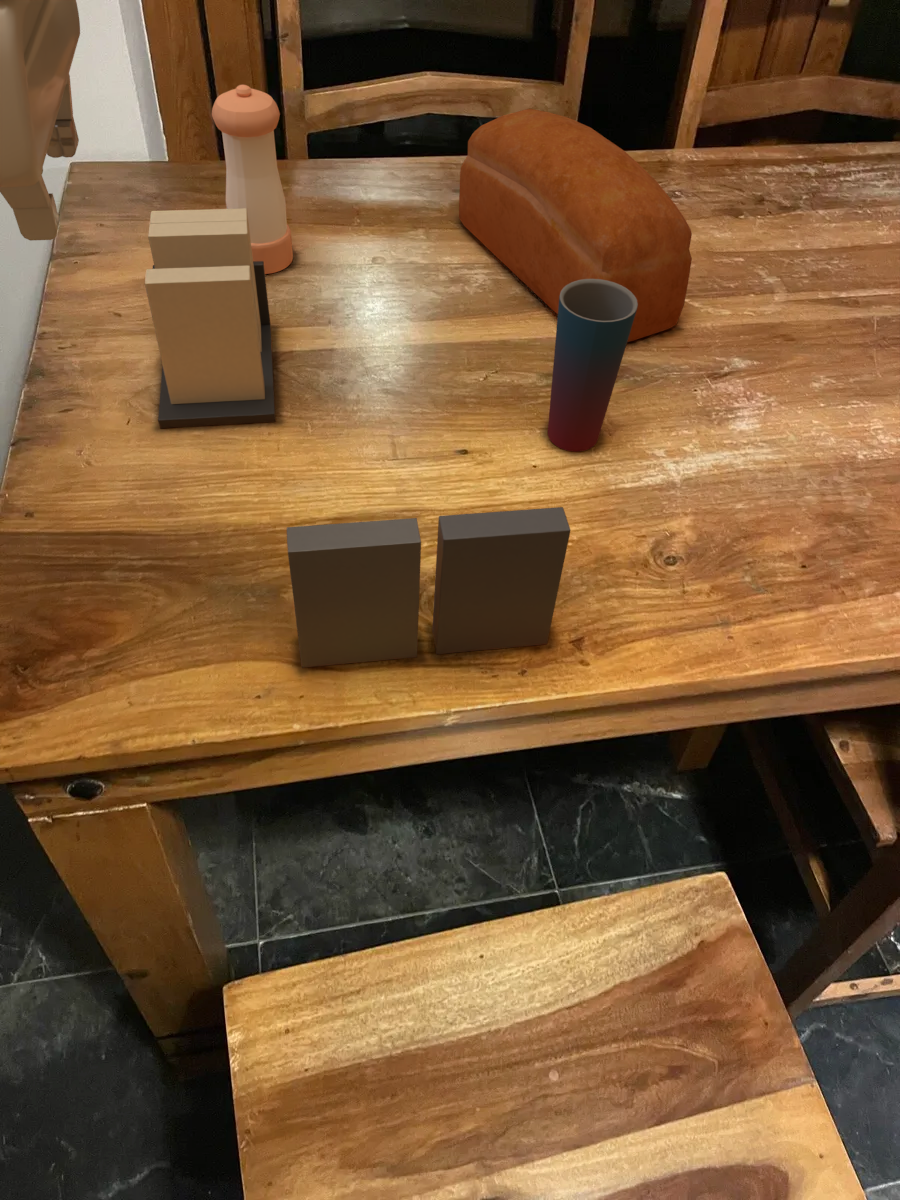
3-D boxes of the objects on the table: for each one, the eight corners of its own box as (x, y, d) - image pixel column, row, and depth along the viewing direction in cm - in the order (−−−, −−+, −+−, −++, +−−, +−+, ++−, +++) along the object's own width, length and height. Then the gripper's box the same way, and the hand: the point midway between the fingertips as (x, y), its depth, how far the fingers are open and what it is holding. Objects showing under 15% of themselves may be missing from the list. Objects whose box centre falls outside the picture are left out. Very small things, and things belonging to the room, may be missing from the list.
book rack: (159, 428, 90) (129, 298, 79) (167, 333, 100) (140, 206, 89) (275, 421, 91) (260, 293, 81) (271, 328, 101) (257, 203, 91)
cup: (541, 409, 95) (561, 274, 83) (608, 418, 94) (638, 283, 83) (535, 453, 90) (557, 316, 79) (606, 462, 90) (637, 326, 78)
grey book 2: (436, 654, 74) (443, 539, 64) (432, 631, 75) (438, 515, 65) (547, 644, 75) (571, 530, 65) (540, 621, 76) (563, 506, 67)
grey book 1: (301, 667, 72) (287, 552, 62) (300, 643, 74) (286, 526, 64) (417, 657, 73) (421, 542, 64) (413, 633, 75) (416, 517, 65)
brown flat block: (171, 404, 91) (144, 283, 81) (172, 389, 92) (146, 268, 82) (265, 399, 92) (249, 279, 82) (264, 384, 93) (249, 265, 84)
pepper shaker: (230, 275, 108) (206, 100, 93) (230, 243, 113) (207, 72, 98) (294, 273, 109) (279, 100, 94) (291, 241, 114) (277, 71, 99)
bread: (538, 197, 124) (553, 71, 112) (691, 325, 106) (728, 190, 94) (446, 218, 119) (453, 88, 107) (590, 355, 101) (616, 217, 89)
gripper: (-61, -172, 48) (21, 112, 58) (-171, -45, 35) (-40, 291, 45) (68, -169, 48) (125, 110, 59) (8, -44, 35) (95, 286, 46)
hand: (53, 190), depth 52 cm, fingers open, 8 cm apart
